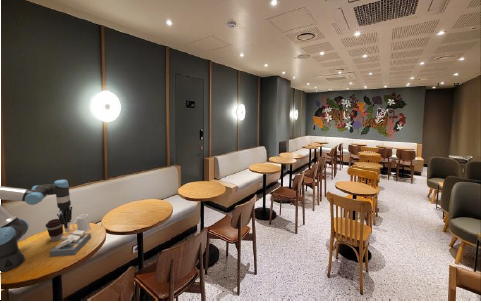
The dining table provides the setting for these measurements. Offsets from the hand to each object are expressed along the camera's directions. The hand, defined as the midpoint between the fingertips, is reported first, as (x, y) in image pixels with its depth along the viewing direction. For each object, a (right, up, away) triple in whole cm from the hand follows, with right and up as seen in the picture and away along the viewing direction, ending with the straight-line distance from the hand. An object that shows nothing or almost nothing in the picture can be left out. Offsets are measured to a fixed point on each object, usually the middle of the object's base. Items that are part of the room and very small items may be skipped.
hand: (67, 231), depth 160 cm
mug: (-2, -6, +17) cm, 18 cm away
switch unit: (+6, -10, -4) cm, 12 cm away
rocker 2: (+6, -4, -5) cm, 8 cm away
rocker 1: (+7, -4, -11) cm, 13 cm away
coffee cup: (-13, -8, +6) cm, 17 cm away
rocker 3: (+6, -2, +1) cm, 6 cm away
